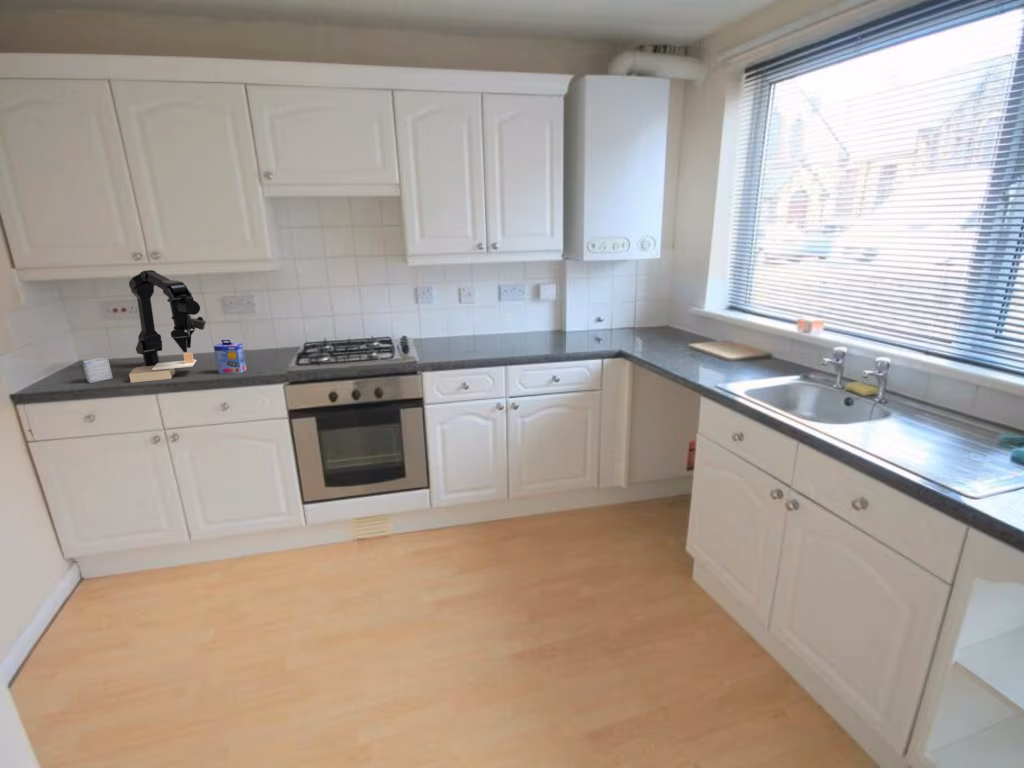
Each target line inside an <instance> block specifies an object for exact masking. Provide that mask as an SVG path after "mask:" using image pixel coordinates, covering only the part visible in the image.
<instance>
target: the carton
mask: <svg viewBox="0 0 1024 768" xmlns="http://www.w3.org/2000/svg"><path fill="white" fill-rule="evenodd" d="M153 367H154V366H145V367H143V366H136V367H134V368H133V369H132V370H131V371H130V372H129V374H128V376H129V379H130V380H129V381H130V384H131V383H140V382H149V381H150V382H151V381H152V382H153V381H162V380H170V379H172V377H173V376H174V375H175V374H176V370H175V369H176V368H172V369H161V370H152V368H153Z"/></svg>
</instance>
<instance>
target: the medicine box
mask: <svg viewBox="0 0 1024 768" xmlns="http://www.w3.org/2000/svg"><path fill="white" fill-rule="evenodd" d="M81 362H82V366H83V370H84V373H85V377H86V381H87V382H88V383H90V384H91V383H96V382H102V381H108V380H113V373H112V369H111V365H110V361H109V359H108V358H106V357H99V358H93V359H88V360H82V361H81Z"/></svg>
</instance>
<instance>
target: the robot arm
mask: <svg viewBox="0 0 1024 768" xmlns="http://www.w3.org/2000/svg"><path fill="white" fill-rule="evenodd" d="M155 271H156V270H154V271H153V269H150V270H149V269H148V270H142V271H141V272H140V273H139V274H135V276H133V277H132V278H131V279H130V280H129V282H128V286H129V288H130V292H131V293H132V295H134V297H136V300H137V306H138V307H137V308H138V314H139V315H138V316H139V320H140V328H141V330H140V333H139V335H138V336H137V339H138V342H137V345H136V347H135V351H136V354H137V355H138V354H139V355H142V358H143V362H144V364H143V365H142V367H145V366H155V365H156V364H157V363H163V361H160V358H159V352H161V351H163V341H162V335H161V334H160V333H158V332H157V331H156V329H155V328H156V327H155V320H154V313H153V307H152V300H151V299H152V297H153V295H154V292H155V286H156V287H158V289H161V290H162V293H163V294H164V295H165V296H166V297H168V298H167V303H169V305H170V310H171V314H172V316H171V320H172V321H173V325H174V326H173V329H172V330H171V331H170V337H171V338H172V339H173V340H174V342H175V343H176V344H177V346H179V348H180V349H181V350H182V352H183V353H188V349H190V348H191V345H192V335H193V333H194V332H195V331H196V329H199V330H202V331H203V330H204V329H205V327H206V323H207V321H206V320H204V316H203V317H202V316H198V317H197V318H193V317H192V316H193V315H194V316H195V315H197V314H198V313H200V311H201V305H200V304H199V303H198V302H197V301H195V298H194V296H193V294H192V293H191V291H190V290H189V289H188V286H187V285H186V284H185V283H184V282H182V281H180V280H172V279H169V277H166V276H164V275H162V274H160V273H158V272H157V271H156V272H157V273H156V272H155ZM191 315H192V316H191Z"/></svg>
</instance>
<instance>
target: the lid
mask: <svg viewBox="0 0 1024 768" xmlns="http://www.w3.org/2000/svg"><path fill="white" fill-rule="evenodd" d="M183 359H184V360H177V361H176V360H175V361H166V362H165V361H164V362H163V361H162V363H157V364H156V365H155V366H154V367H153V368H152V370H161V369H172V368H174V369H178V368H179V369H180V368H190V367H194V365H195V363H196V362H197V359H194V355H193V352H183Z"/></svg>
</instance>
